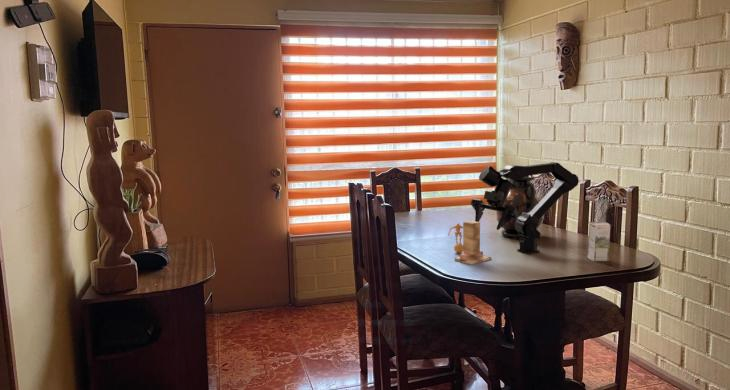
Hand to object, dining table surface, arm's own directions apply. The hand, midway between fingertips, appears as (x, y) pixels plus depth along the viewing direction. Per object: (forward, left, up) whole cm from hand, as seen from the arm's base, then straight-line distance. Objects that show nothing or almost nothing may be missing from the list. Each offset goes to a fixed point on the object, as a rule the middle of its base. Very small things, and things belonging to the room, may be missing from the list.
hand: (486, 226), depth 210 cm
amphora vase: (-41, -24, -13) cm, 49 cm away
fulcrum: (+6, 0, -13) cm, 14 cm away
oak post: (+7, 0, -10) cm, 12 cm away
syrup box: (-34, +25, -13) cm, 44 cm away
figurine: (+3, -13, -13) cm, 19 cm away
